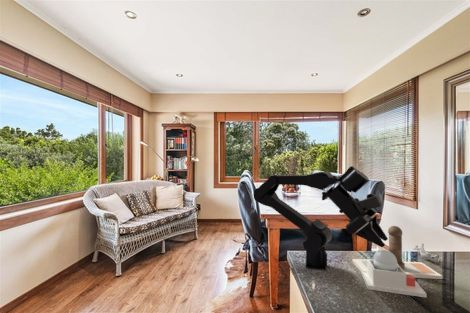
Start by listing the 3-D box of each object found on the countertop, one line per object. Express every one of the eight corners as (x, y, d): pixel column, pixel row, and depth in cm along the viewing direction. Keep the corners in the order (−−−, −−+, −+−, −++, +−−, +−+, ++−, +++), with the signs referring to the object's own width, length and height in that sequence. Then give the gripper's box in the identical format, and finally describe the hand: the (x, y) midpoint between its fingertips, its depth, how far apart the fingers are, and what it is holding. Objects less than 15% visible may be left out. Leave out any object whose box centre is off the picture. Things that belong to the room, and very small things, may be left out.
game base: (368, 289, 68) (367, 269, 68) (361, 274, 77) (361, 257, 77) (426, 297, 64) (426, 276, 64) (413, 281, 73) (412, 263, 73)
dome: (376, 273, 69) (376, 252, 69) (371, 265, 75) (371, 245, 75) (400, 276, 67) (400, 255, 67) (393, 267, 73) (393, 248, 73)
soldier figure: (430, 257, 94) (453, 259, 83) (422, 266, 93) (445, 269, 82) (412, 241, 96) (432, 241, 85) (404, 250, 96) (424, 251, 84)
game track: (363, 274, 77) (363, 271, 77) (352, 261, 87) (352, 258, 87) (442, 279, 74) (442, 275, 74) (421, 265, 84) (421, 262, 84)
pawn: (391, 268, 78) (390, 227, 79) (383, 262, 83) (383, 223, 84) (408, 269, 78) (407, 228, 78) (399, 262, 83) (399, 224, 83)
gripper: (357, 188, 68) (406, 234, 61) (369, 183, 82) (410, 220, 75) (329, 212, 72) (371, 258, 65) (345, 204, 87) (381, 240, 80)
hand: (385, 243), depth 71 cm, fingers open, 7 cm apart
